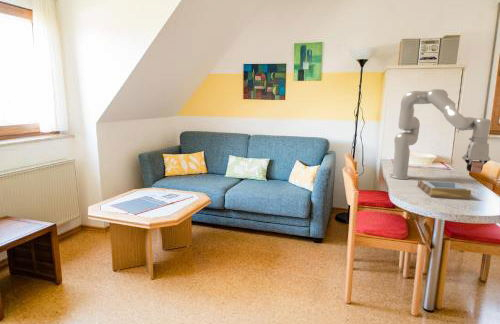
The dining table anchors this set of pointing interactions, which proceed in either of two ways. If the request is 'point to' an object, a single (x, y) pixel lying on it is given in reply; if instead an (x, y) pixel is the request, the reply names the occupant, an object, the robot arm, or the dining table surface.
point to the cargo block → (476, 167)
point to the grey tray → (444, 185)
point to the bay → (444, 192)
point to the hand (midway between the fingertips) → (474, 170)
